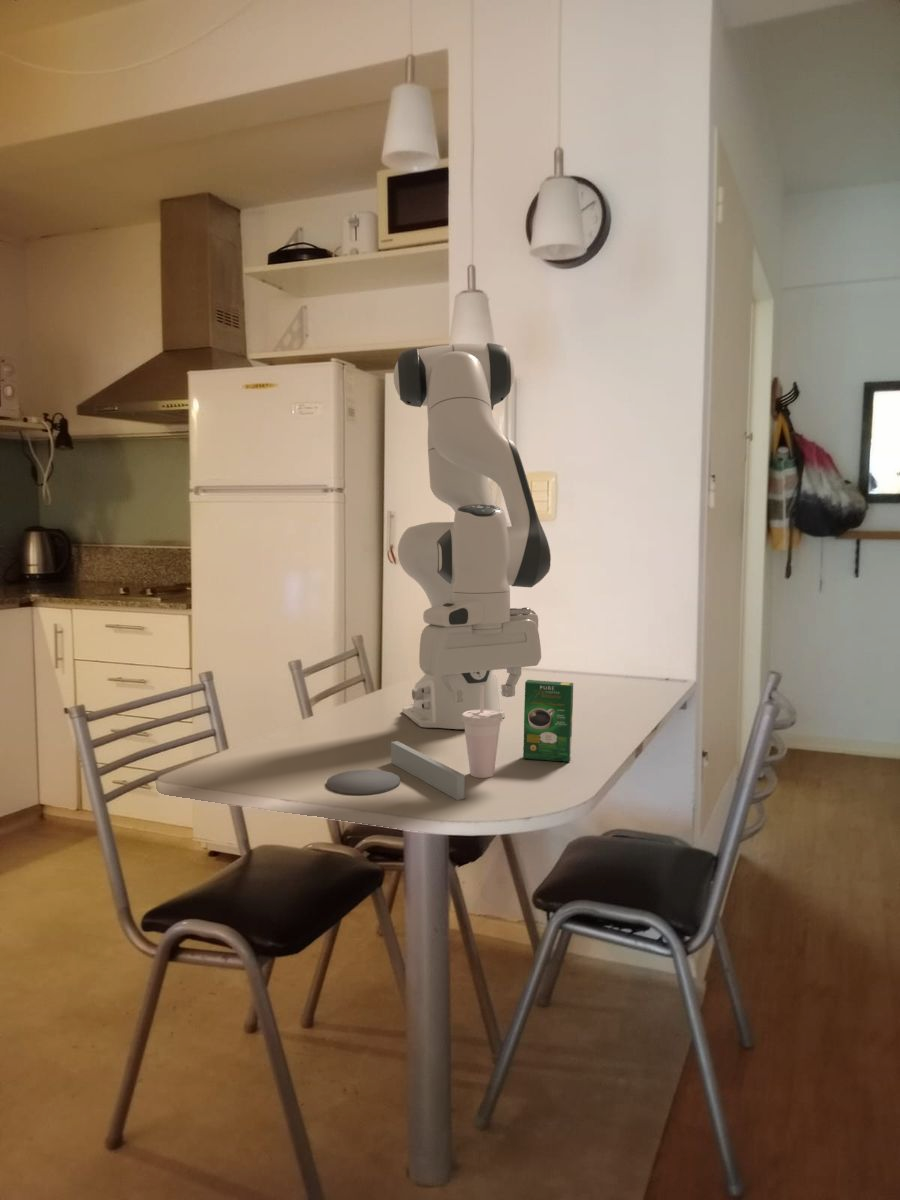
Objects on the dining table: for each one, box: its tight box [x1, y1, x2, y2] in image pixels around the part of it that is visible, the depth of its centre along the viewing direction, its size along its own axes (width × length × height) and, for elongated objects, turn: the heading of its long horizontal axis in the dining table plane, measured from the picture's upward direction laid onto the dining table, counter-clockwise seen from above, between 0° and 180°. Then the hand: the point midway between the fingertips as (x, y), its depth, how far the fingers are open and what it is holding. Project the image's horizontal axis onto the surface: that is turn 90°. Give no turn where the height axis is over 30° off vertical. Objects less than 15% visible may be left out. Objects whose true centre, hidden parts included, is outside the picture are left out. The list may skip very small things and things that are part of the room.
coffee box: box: [522, 679, 574, 763], centre depth 149 cm, size 8×3×13 cm, turn 75°
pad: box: [326, 769, 401, 796], centre depth 137 cm, size 11×11×1 cm
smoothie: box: [462, 685, 503, 779], centre depth 140 cm, size 6×6×14 cm
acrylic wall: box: [390, 740, 465, 801], centre depth 138 cm, size 22×1×4 cm, turn 29°
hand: (482, 699), depth 139 cm, fingers open, 8 cm apart
